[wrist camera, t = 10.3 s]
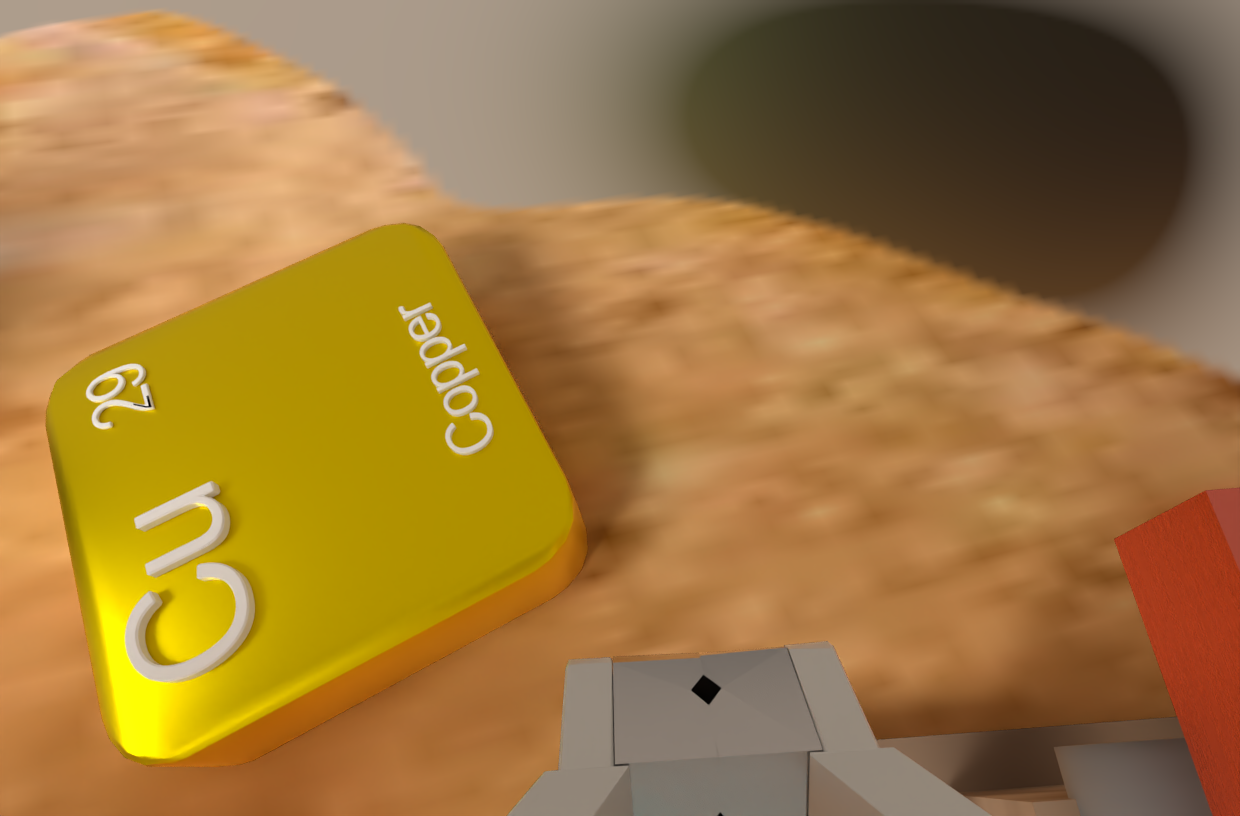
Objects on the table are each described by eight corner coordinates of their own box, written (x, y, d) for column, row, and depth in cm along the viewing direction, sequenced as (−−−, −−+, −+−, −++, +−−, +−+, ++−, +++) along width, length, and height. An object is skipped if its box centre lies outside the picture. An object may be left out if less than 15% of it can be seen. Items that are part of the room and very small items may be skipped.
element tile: (610, 570, 27) (596, 532, 22) (200, 793, 24) (97, 798, 20) (451, 268, 33) (416, 193, 28) (113, 425, 31) (19, 369, 26)
